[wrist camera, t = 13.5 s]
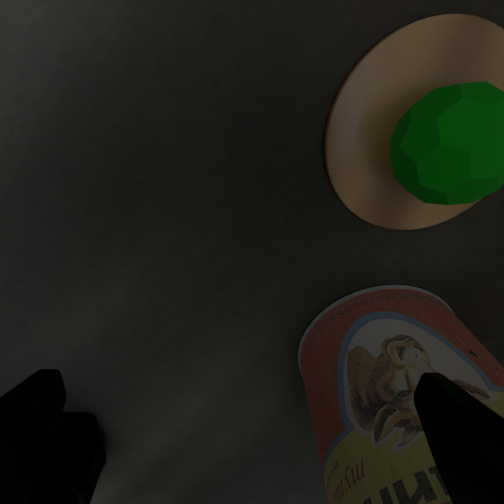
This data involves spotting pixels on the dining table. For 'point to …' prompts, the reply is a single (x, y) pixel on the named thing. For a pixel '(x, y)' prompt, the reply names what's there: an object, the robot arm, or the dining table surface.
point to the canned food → (386, 390)
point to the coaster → (402, 111)
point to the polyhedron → (451, 144)
